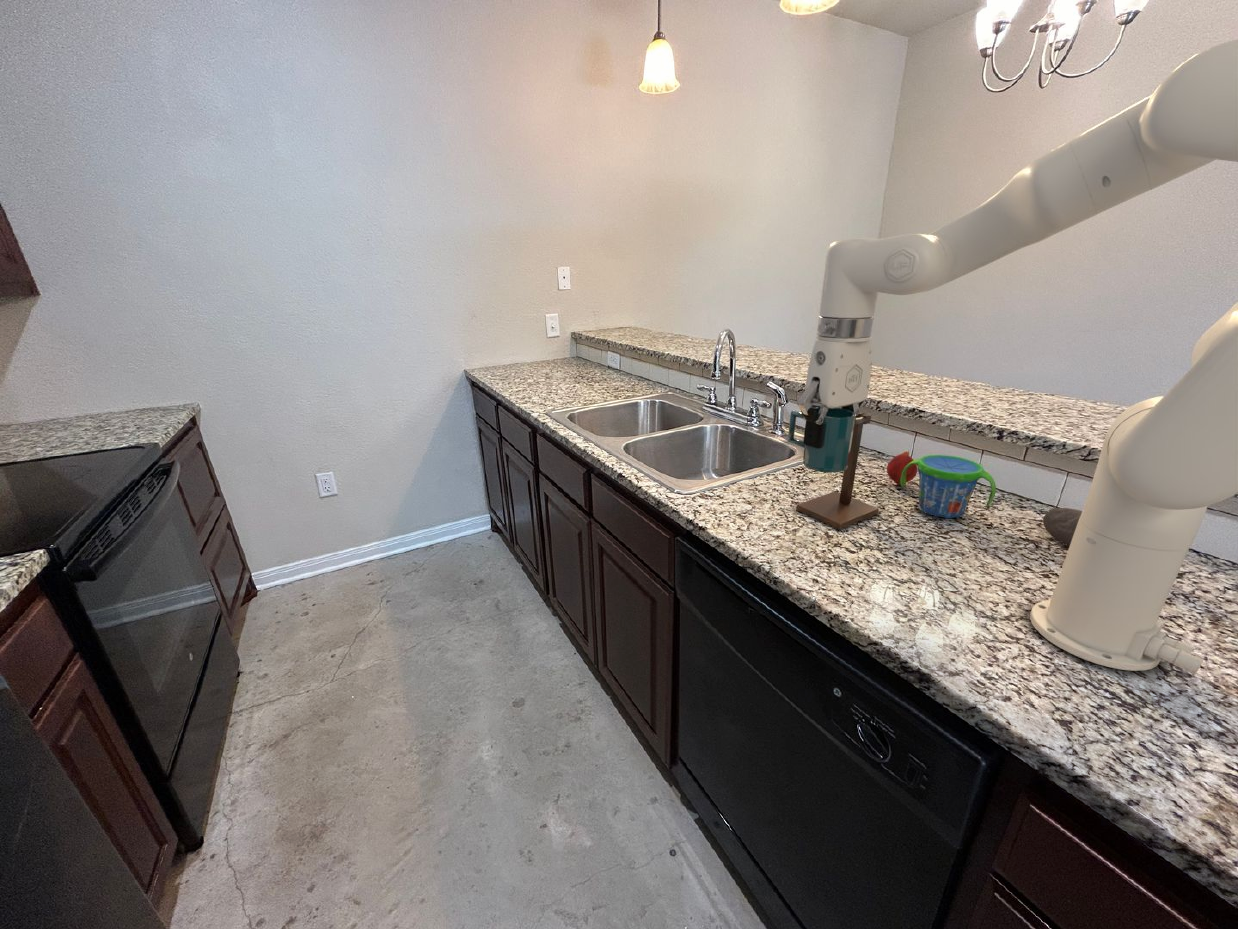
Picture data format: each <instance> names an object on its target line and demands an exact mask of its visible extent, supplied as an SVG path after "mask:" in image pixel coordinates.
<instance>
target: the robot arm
mask: <svg viewBox="0 0 1238 929" xmlns="http://www.w3.org/2000/svg"><path fill="white" fill-rule="evenodd" d="M1216 160H1218V161H1219V160H1220V161H1226V162H1235V163H1238V39H1234V40H1228V41H1225V42H1222V43H1219V44H1216V45H1214V46H1211V47H1209V48H1207V49H1205V50H1203V51H1201V52H1199V53H1197V54H1195V55H1193V56H1192V57H1190V58H1188V59H1187V60H1186V61H1184V62H1182V63H1181V64H1180V65H1179V66H1177V67H1176V68H1175V69H1174V70H1173V71H1171V72H1170V73H1169V74H1168V75H1167V77H1165V79H1164V80H1162V82H1161V83H1160V84H1158V87H1157V88H1156V89H1155V91H1153V93H1152V94H1150V95H1149V96H1147V97H1145V98H1143V99H1142V100H1140V101H1138V102H1136V103H1135V104H1133V105H1131V106H1129V107H1128V108H1126V109H1123V110H1122V111H1121V112H1119V113H1117V114H1115V115H1113V116H1111V117H1109V118H1108V119H1106V120H1104V121H1102V122H1101V123H1099V124H1097V125H1095V126H1094V127H1091V128H1090V129H1088V130H1087V131H1085V132H1083V133H1080V134H1079V135H1077V136H1076V137H1074V138H1072V139H1070V140H1068V141H1067V142H1065V143H1063V144H1061V145H1059V146H1058V147H1056V148H1054V149H1052V150H1050V151H1049V152H1048V151H1047V153H1045V154H1043V155H1041V156H1039V157H1037V158H1035V159H1034V160H1033V161H1031V162H1029V163H1028V164H1027V165H1025V166H1024V167H1023V168H1022V169H1020V170H1019V171H1018V172H1017V173H1016V174H1015V175H1014V176H1012V178H1011V179H1010V180H1009V181H1008V182H1007V183H1006V184H1005V185H1004V186H1003V187H1002V188H1001V189H1000V190H999V191H997V192H996V193H995V194H994V195H992V196H991V197H990V198H988V199H987V200H985V201H984V202H983V203H981V204H980V205H978V206H976V207H975V208H973V209H971V210H970V211H968V212H967V213H964V214H963V215H960V216H959V217H957V218H956V219H954V220H952V221H950V222H948V223H946V224H944V225H942V226H941V227H938V228H937V229H936V230H933V231H931V232H929V233H927V234H926V233H904V234H898V235H894V236H889V237H883V238H868V237H867V238H866V237H865V238H846V239H845V238H844V239H839V240H838V239H837V240H836V241H835V240H834V241H833V242H832V243H830V245H829V246H828V248H827V250H826V255H825V262H824V263H825V264H824V270H823V271H824V272H823V280H822V286H821V287H822V290H821V296H820V303H819V312H818V320H817V328H816V329H817V330H816V336H815V337H816V338H815V340H814V344H813V347H812V351H811V354H810V360H809V364H808V368H807V373H806V379H805V389H804V391H803V392H802V394H801V395H800V396H799V397H798V399H797V400H796V404H797V406H798V408H799V410H800V412H801V413H802V415H803V416H804V418H803V421H805V425H804V426H805V427H804V433H803V439H802V441H803V443H804V444H805V445H808V446H811V447H814V448H817V449H820V448H822V445H823V438H824V431H825V424H822V423H823V420H824V418H825V416H826V414H827V411H828V409H829V408H843V409H847V410H850V411H853V412H855V414H856V416H857V415H858V414H859V411H860V408H861V406H862V405H863V403H864V401H865V400H867V398H868V396H869V393H870V392H869V391H870V384H871V378H872V368H873V367H872V365H873V338H872V332H873V327H874V326H873V324H874V319H875V313H876V307H877V302H878V301H877V300H878V295H879V293H881V294H888V295H894V296H909V295H915V294H921V293H925V292H929V291H932V290H935V289H937V288H939V287H941V286H943V285H946V284H948V283H950V282H953V281H954V280H957V279H959V278H961V277H963V276H965V275H968V274H970V273H972V272H974V271H976V270H978V269H981V268H983V267H986V266H987V265H989V264H992V263H993V262H996V261H998V260H1000V259H1001V258H1004V257H1006V256H1008V255H1011V254H1012V253H1015V252H1017V251H1019V250H1021V249H1024V248H1026V247H1030V246H1032V245H1036V244H1037V243H1040V242H1043V241H1044V240H1047V239H1048V238H1050V237H1052V236H1055V235H1056V234H1058V233H1061V232H1063V231H1066V230H1067V229H1069V228H1071V227H1074V226H1076V225H1078V224H1080V223H1082V222H1085V221H1086V220H1089V219H1091V218H1094V217H1095V216H1097V215H1099V214H1101V213H1103V212H1106V211H1107V210H1109V209H1112V208H1114V207H1116V206H1119V205H1121V204H1123V203H1125V202H1127V201H1129V200H1131V199H1134V198H1136V197H1138V196H1140V195H1142V194H1145V193H1147V192H1149V191H1152V190H1154V189H1156V188H1159V187H1160V186H1163V185H1165V184H1167V183H1169V182H1171V181H1173V180H1176V179H1178V178H1180V177H1182V176H1185V175H1188V174H1189V173H1192V172H1193V171H1195V170H1197V169H1199V168H1201V167H1204V166H1206V165H1208V164H1210V163H1212V162H1215V161H1216ZM816 407H818V408H820V411H819V413H818V414H817V412H816V411H815V408H816ZM855 422H856V418H855ZM854 428H855V424H854ZM853 434H854V430H853ZM852 439H853V436H852ZM1237 494H1238V301H1236V303H1234V304H1233V305H1232V306H1231V308H1230V309H1228V311H1226V313H1224V314H1223V315H1222V316H1221V317H1220V318H1219V319H1218V320H1217V321H1215V322H1214V324H1212V325H1211V326H1210V327H1209V328H1208V329H1206V331H1204V333H1203V334H1202V335H1201V336H1200V337H1199V339H1198V340H1197V342H1195V345H1194V347H1193V350H1192V352H1191V368H1190V369H1189V370H1188V371H1187V372H1186V373H1185V374H1184V375H1183V376H1182V377H1181V378H1180V379H1179V380H1178V381H1177V382H1176V383H1175V384H1174V385H1173V386H1172V387H1171V388H1170V389H1169V390H1168V391H1167V392H1166V393H1165V394H1164V395H1162V396H1155V397H1151V398H1147V399H1143V400H1141V401H1139V402H1136V403H1135V404H1132V405H1131V406H1129V407H1127V408H1126V409H1125V410H1123V411H1122V412H1121V413H1120V414H1119V415H1117V416H1116V418H1115V419H1114V420H1113V421H1112V423H1111V424H1110V426H1109V428H1108V430H1107V432H1106V434H1105V437H1104V440H1103V443H1102V446H1101V450H1100V454H1099V458H1098V461H1097V465H1096V467H1095V471H1094V475H1093V478H1092V480H1091V485H1090V488H1089V491H1088V493H1087V496H1086V500H1085V502H1084V505H1083V509H1082V510H1081V511H1082V514H1081V516H1080V518H1079V521H1078V524H1077V527H1076V530H1075V532H1074V535H1073V538H1072V541H1071V544H1070V547H1068V549H1067V552H1066V555H1065V558H1064V561H1063V564H1062V566H1061V569H1060V572H1059V576H1058V578H1057V582H1056V584H1055V587H1054V590H1053V592H1052V595H1051V599H1047V600H1042V601H1038V602H1037V603H1035V604H1034V605H1033V606H1032V608H1031V611H1030V613H1029V620H1030V622H1031V624H1032V626H1033V628H1034V629H1035V630H1036V631H1037V632H1038V633H1039V634H1040V635H1041V636H1042V637H1043V638H1045V639H1046V640H1047V641H1048V642H1050V643H1051V644H1053V645H1055V646H1056V647H1058V648H1059V649H1062V650H1063V651H1065V652H1067V653H1069V654H1071V655H1072V656H1075V657H1077V658H1079V659H1082V660H1085V661H1086V662H1087V661H1088V662H1090V663H1093V664H1096V665H1099V666H1102V667H1107V668H1111V669H1117V670H1121V671H1131V672H1137V671H1138V672H1140V671H1148V670H1152V669H1154V668H1156V667H1158V665H1159V664H1160V662H1161V661H1165V662H1167V663H1170V664H1173V666H1175V667H1177V668H1180V669H1182V670H1184V671H1187V672H1189V673H1191V674H1194V675H1196V674H1197V673H1198V671H1199V670H1200V668H1201V665H1202V664H1203V662H1204V659H1203V658H1201V657H1199V656H1197V655H1193V653H1192V652H1193V650H1194V648H1195V646H1192V645H1190V644H1187V643H1185V642H1182V641H1181V640H1176V639H1173V638H1171V637H1169V636H1167V633H1165V632H1163V631H1161V630H1162V628H1163V626H1164V624H1165V621H1164V620H1163V619H1159V617H1160V615H1161V612H1162V610H1163V608H1164V605H1165V604H1166V601H1167V600H1168V597H1169V595H1170V592H1171V590H1172V589H1173V585H1174V584H1175V581H1176V579H1177V577H1178V574H1179V573H1180V570H1181V568H1182V566H1183V564H1184V562H1185V560H1186V557H1187V555H1188V552H1189V549H1190V548H1191V547H1192V545H1193V543H1194V541H1195V539H1196V536H1197V535H1198V532H1199V530H1200V528H1201V525H1202V522H1203V520H1204V517H1205V515H1206V511H1207V509H1208V506H1209V507H1210V506H1212V505H1215V504H1217V503H1220V502H1223V501H1225V500H1226V499H1227V500H1228V499H1229V498H1231V497H1233V496H1234V495H1237Z"/></svg>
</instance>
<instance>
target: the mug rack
mask: <svg viewBox="0 0 1238 929" xmlns="http://www.w3.org/2000/svg"><path fill="white" fill-rule="evenodd" d="M871 419H872V414H869V413H866V412H865V411H860V410H859V414H858V415H857V416H856V422H855V428H854V434H853V439H852V443H851V449H850V455H849V462H848V465H847V469H846V470H844V471H843V474H842V480H841V481H842V482H841V486H840V491H839V492H838V491H836V490H835V491H832V492H829V493H826V494H823V495H820V496H818V497H815V498H812V499H809V500H806V501H803V502H801V503H797V504H796V511H798V512H800V513H801V514H802V513H803V514H804V515H807V516H808V517H811V518H813V519H815V520H817V521H820V522H821V523H824V524H826V525H828V526H830V527H833V528H835V529H837V530H841V529H844V528H847V527H848V526H851V525H854V524H856V523H859V522H861V521H864V520H866V519H868V518H871V517H873V516H875V515H878V514H879V510H880V508H879V507H877V506H874V505H872V504H869V503H866V502H864V501H861V500H859V499H856V498H854V497H852V496H853V492H854V486H855V485H854V483H855V477H856V471H857V465H858V460H859V453H860V448H861V441H862V436H863V429H864V425H868V424H871V422H872V420H871Z"/></svg>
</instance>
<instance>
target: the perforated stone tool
mask: <svg viewBox="0 0 1238 929" xmlns="http://www.w3.org/2000/svg"><path fill="white" fill-rule="evenodd" d="M1082 511H1083V510H1080V509H1075V508H1068V507H1058V508H1057V507H1055V508H1050V510H1049V511H1047V513H1045V514H1044V516H1043V518H1042V523H1043V527H1044V528H1045V530H1046V532H1047V533H1048V534H1049V535H1050V536H1051V537H1052V538H1053V539H1055V540H1056V541H1058V542H1060V543H1063V544H1065V545H1066V547H1067V548H1069V547H1070V544H1071V541H1072V538H1073V535H1074V532H1075V530H1076V527H1077V524H1078V521H1079V518H1080V516H1081V514H1082Z"/></svg>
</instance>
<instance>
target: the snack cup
mask: <svg viewBox="0 0 1238 929" xmlns="http://www.w3.org/2000/svg"><path fill="white" fill-rule="evenodd" d="M913 460H914V461H912V462H910V463H909V464H908V465H907V466H906V467H905V468H904V470H903V472H902V475H901V480H900V483H901V485H900V486H901V487H902V488H903V487H905V486H906V484H907V482H906V470H907V469H908V468H909V467H910V466H911V465H913V464H916V465H917V472H918V477H919V478H918V479H919V481H918V505H919V508H920V509H921V510H922V511H923V512H924V513H926V514H929V515H930V516H935V517H939V518H945V519H952V518H954V519H955V518H958V517H962V516H963V514H964V513H965V512H966V509H967V506H968V504H969V502H970V500H971V497H972V495H973V493H974V491H975V488H976V486H977V482H978V481H979V480H980V479H984V480H985V481H987V482H989V485H990V492H989V496H988V501H987V502H986V504H985V507H986V508H988V507H989V506H990V505H991V504H992V503H993V500H994V498H995V496H996V491H997V486H996V481H995V480H994V478H993V476H992V475H991V474H990V473H988V472H987V471H985V469H984V467H983V466H982V465H981V464H980V463H978V462H976V461H974V460H971V459H968V458H965V457H961V456H954V455H949V454H948V455H947V454H946V455H945V454H930V455H925V456H922V457H920V458H917V459H913Z"/></svg>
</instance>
